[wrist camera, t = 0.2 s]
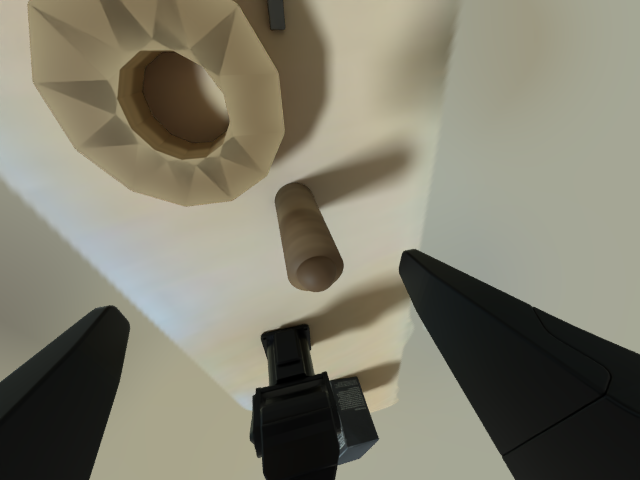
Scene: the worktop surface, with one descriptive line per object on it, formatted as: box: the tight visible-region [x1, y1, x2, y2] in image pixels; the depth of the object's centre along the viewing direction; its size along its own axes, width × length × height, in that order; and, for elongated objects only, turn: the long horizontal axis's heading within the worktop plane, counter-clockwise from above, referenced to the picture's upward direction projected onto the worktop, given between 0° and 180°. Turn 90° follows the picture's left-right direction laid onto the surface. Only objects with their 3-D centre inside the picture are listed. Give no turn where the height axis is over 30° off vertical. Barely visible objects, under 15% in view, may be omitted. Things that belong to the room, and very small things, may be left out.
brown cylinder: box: [275, 183, 344, 292], centre depth 17 cm, size 3×3×10 cm
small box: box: [330, 377, 379, 465], centre depth 45 cm, size 11×6×10 cm, turn 166°
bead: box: [27, 0, 285, 207], centre depth 14 cm, size 11×11×4 cm
